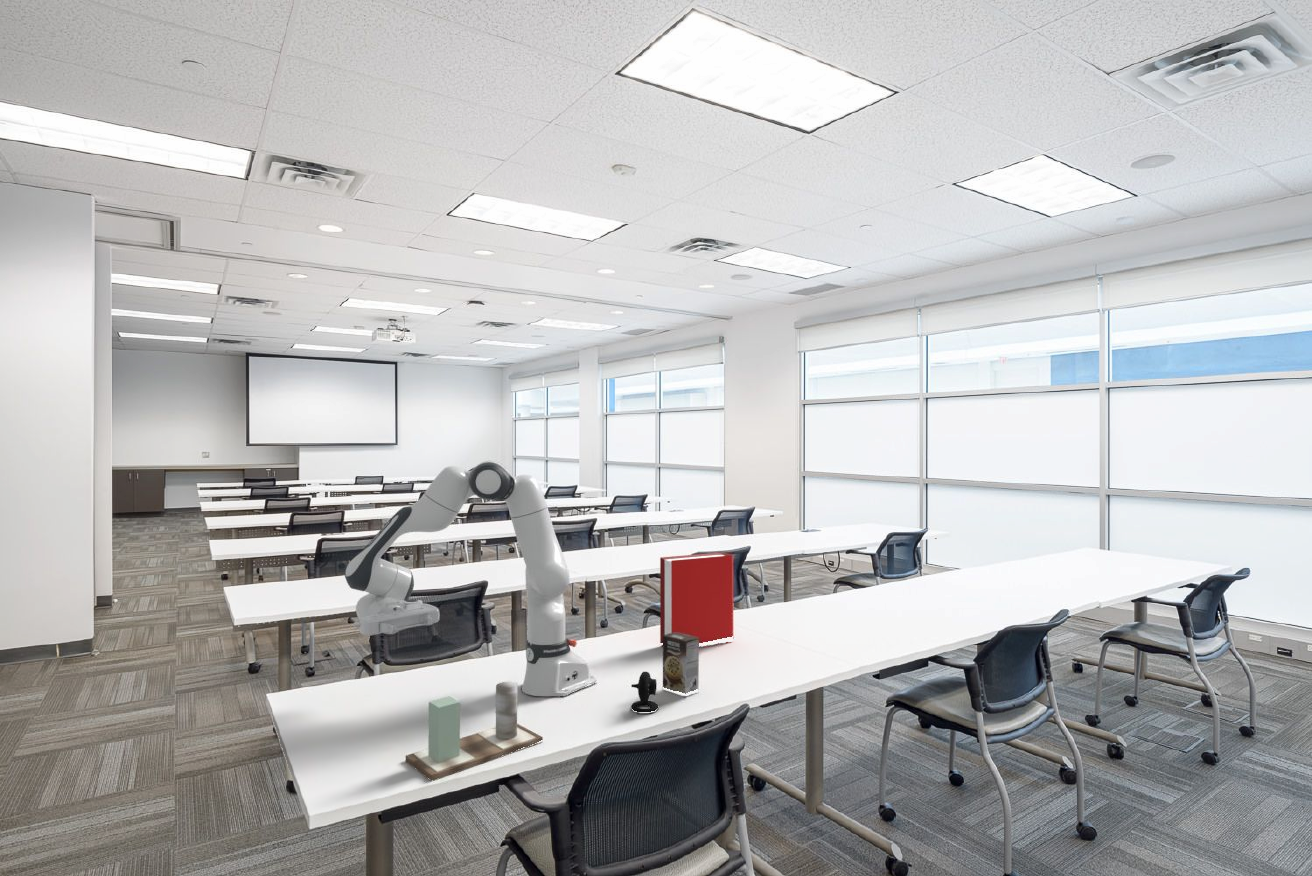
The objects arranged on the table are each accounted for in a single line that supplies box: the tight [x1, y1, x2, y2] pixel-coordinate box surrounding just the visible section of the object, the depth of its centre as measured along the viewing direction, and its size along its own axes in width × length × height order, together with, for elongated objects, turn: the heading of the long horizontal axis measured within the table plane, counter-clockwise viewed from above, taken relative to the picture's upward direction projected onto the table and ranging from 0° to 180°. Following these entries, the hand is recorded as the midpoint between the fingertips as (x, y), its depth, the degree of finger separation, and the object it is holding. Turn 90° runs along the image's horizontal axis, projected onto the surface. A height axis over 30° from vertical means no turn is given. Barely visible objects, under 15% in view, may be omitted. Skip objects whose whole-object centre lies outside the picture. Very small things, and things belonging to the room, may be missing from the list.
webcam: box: [630, 671, 659, 712], centre depth 183 cm, size 8×8×10 cm
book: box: [659, 551, 734, 644], centre depth 246 cm, size 27×8×32 cm, turn 119°
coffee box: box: [662, 632, 700, 694], centre depth 197 cm, size 9×6×16 cm
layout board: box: [405, 681, 544, 782], centre depth 157 cm, size 28×13×13 cm, turn 134°
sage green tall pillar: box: [427, 696, 461, 763], centre depth 151 cm, size 5×5×12 cm
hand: (412, 625), depth 173 cm, fingers open, 8 cm apart
